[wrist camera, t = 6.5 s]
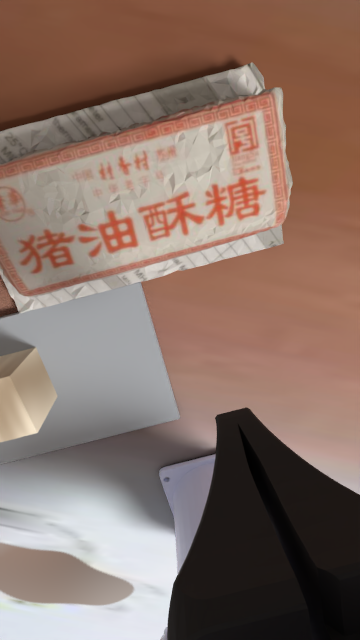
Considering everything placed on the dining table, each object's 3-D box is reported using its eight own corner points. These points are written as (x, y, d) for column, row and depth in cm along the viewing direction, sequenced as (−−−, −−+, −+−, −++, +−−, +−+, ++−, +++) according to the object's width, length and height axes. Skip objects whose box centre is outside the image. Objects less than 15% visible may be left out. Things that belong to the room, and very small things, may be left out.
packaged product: (289, 20, 13) (312, 250, 16) (254, 70, 18) (278, 242, 21) (-115, 130, 13) (-11, 336, 17) (-46, 151, 18) (25, 309, 21)
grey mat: (179, 413, 24) (180, 418, 24) (-89, 482, 24) (-95, 488, 24) (140, 280, 21) (139, 282, 20) (-175, 362, 21) (-184, 366, 20)
